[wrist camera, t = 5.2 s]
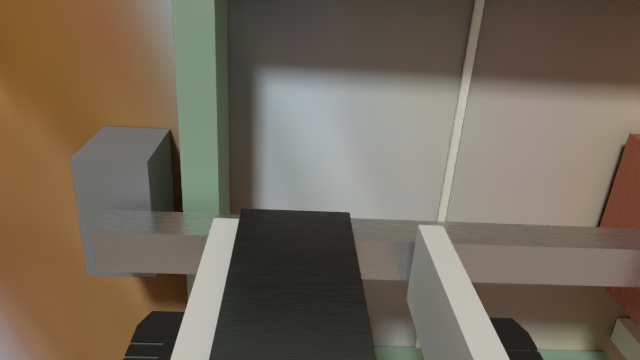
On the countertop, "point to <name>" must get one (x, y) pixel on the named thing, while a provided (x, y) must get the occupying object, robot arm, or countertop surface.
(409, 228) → the kicker rod
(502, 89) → the countertop surface
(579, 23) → the countertop surface
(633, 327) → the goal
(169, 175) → the pitch
